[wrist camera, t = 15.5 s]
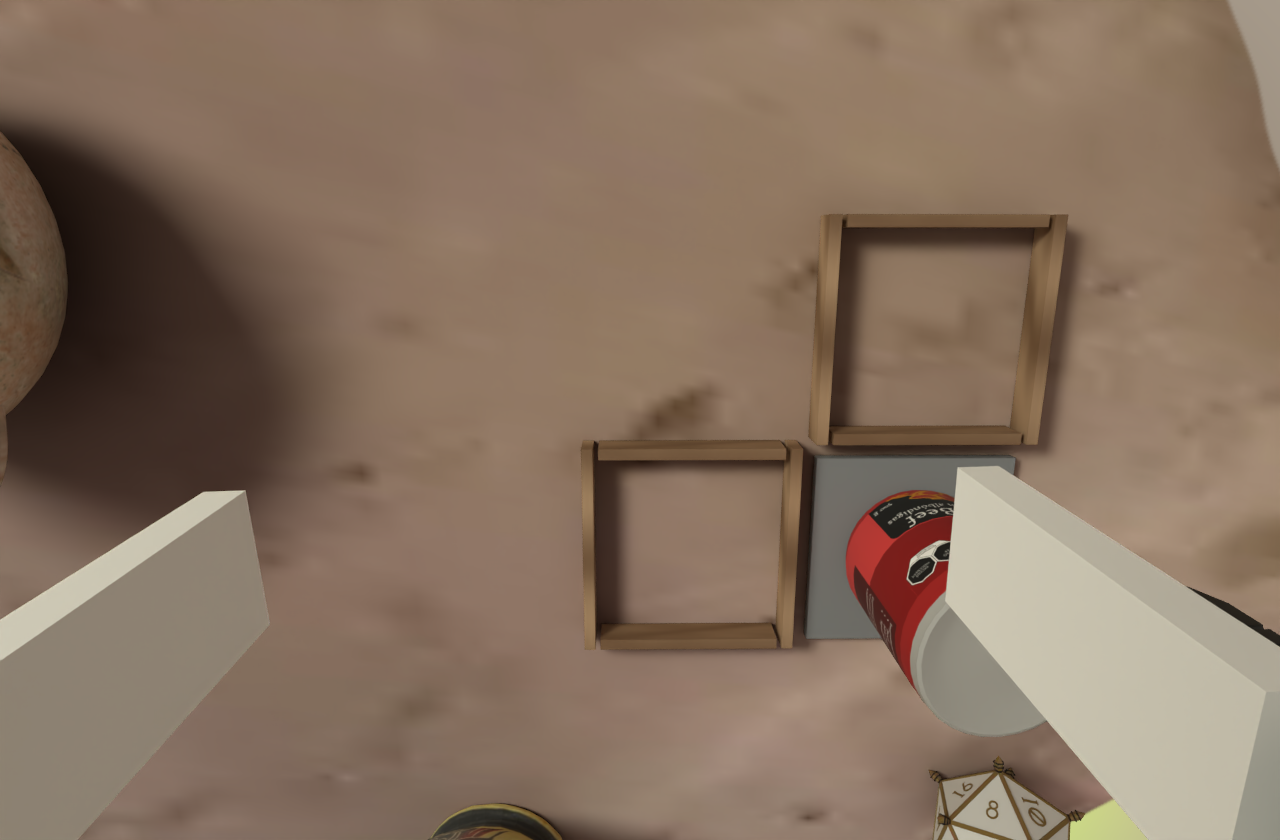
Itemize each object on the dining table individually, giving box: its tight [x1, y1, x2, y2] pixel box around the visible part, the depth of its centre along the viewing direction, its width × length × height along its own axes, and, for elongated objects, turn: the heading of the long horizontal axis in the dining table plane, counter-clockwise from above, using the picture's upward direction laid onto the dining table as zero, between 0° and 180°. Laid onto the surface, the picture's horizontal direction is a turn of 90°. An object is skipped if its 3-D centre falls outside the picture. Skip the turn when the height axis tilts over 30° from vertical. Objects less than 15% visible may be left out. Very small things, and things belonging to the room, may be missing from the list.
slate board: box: [804, 455, 1016, 639], centre depth 41 cm, size 11×11×1 cm
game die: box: [929, 756, 1085, 840], centre depth 42 cm, size 9×8×10 cm
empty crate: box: [808, 214, 1068, 445], centre depth 38 cm, size 12×12×2 cm
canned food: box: [846, 490, 1047, 737], centre depth 35 cm, size 8×8×11 cm
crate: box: [581, 440, 803, 650], centre depth 40 cm, size 12×12×2 cm
